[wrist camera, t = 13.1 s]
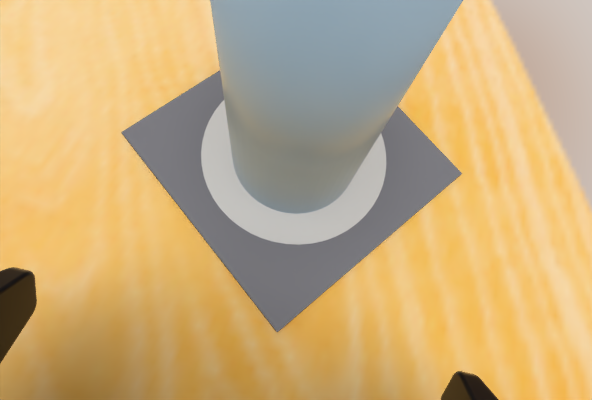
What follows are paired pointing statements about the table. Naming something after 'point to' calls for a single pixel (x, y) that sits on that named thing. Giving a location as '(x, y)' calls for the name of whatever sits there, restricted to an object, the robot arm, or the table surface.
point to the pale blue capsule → (316, 87)
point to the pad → (279, 225)
